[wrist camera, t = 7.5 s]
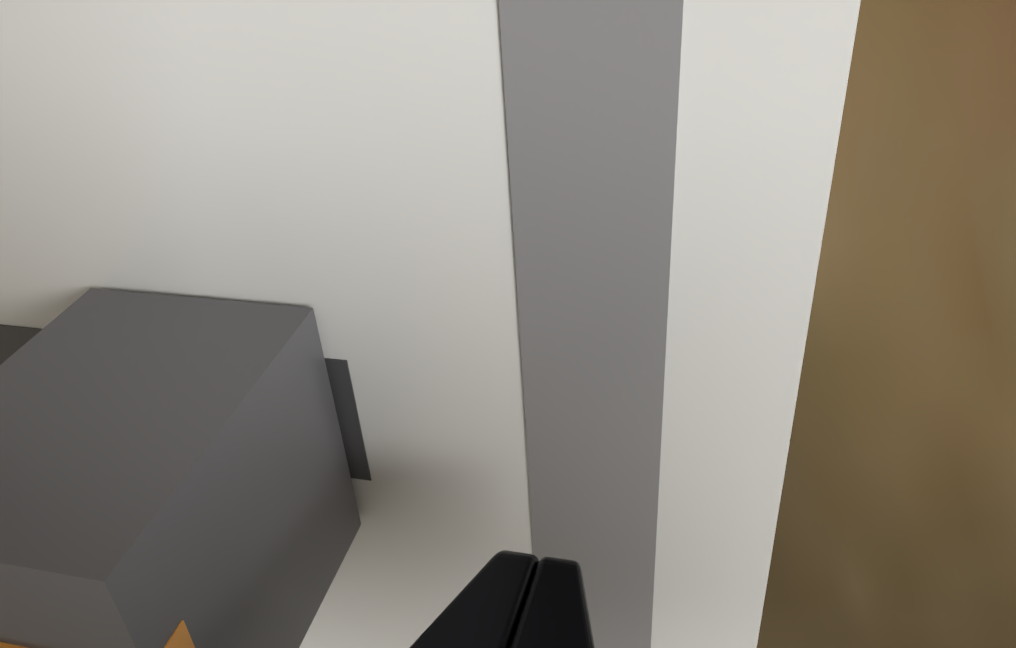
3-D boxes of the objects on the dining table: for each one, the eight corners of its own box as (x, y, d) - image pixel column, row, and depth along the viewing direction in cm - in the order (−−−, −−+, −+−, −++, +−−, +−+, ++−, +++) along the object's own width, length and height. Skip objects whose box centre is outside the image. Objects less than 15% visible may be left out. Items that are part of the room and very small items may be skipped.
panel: (933, -614, 6) (973, -696, 5) (726, 771, 16) (723, 858, 15) (-832, -352, 11) (-1038, -360, 10) (-136, 600, 21) (-193, 655, 20)
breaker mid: (314, 307, 10) (101, 587, 7) (362, 524, 12) (215, 818, 9) (88, 287, 11) (-199, 533, 8) (169, 495, 13) (-31, 758, 10)
